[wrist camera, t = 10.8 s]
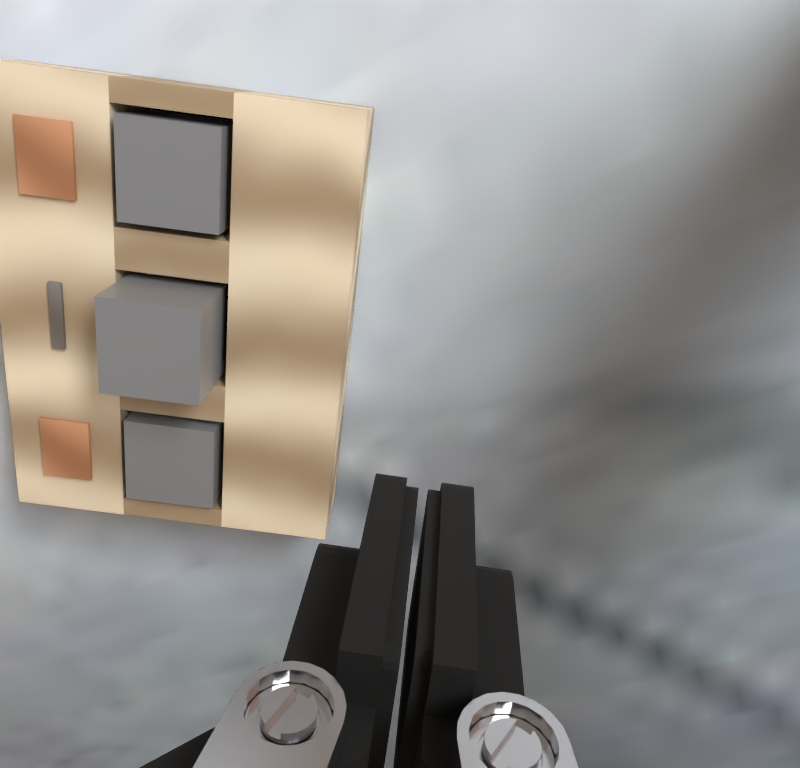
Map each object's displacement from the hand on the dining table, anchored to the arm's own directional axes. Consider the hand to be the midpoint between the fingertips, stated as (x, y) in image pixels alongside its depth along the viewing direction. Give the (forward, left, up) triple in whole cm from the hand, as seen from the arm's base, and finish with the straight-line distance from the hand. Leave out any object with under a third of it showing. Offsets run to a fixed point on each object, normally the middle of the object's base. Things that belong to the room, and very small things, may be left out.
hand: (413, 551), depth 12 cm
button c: (+11, -11, -24) cm, 29 cm away
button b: (+4, -11, -22) cm, 25 cm away
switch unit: (+4, -11, -25) cm, 27 cm away
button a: (-3, -11, -24) cm, 27 cm away
